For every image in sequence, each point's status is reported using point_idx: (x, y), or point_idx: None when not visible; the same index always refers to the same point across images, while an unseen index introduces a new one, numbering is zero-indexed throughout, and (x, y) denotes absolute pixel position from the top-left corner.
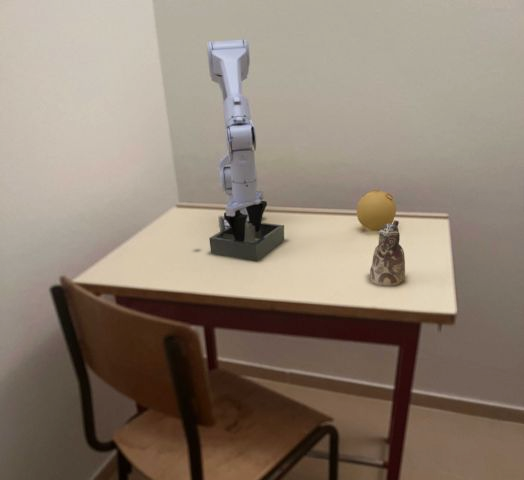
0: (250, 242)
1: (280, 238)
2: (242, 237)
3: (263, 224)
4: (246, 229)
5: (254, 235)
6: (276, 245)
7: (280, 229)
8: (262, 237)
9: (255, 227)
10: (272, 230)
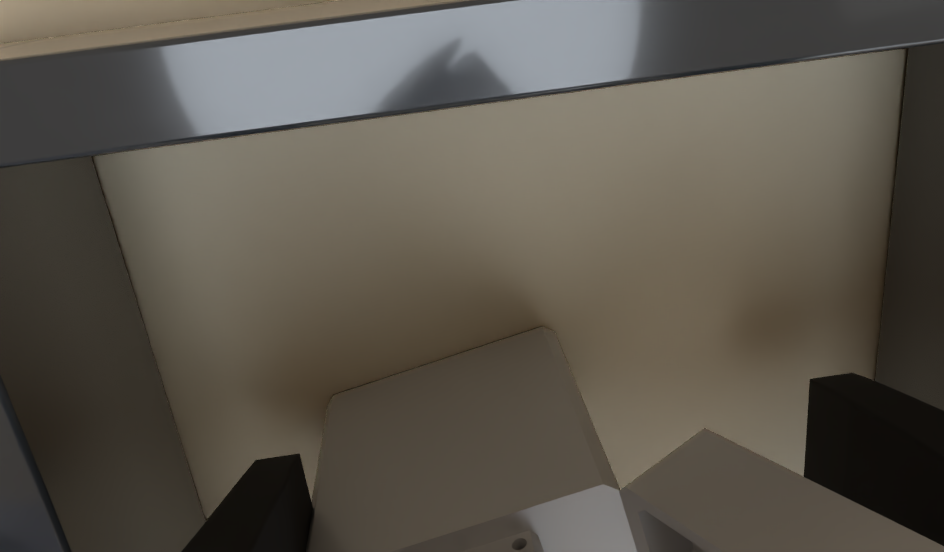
0: (564, 368)
1: (107, 33)
2: (925, 411)
3: (64, 531)
4: (840, 496)
5: (370, 453)
6: (299, 5)
7: (6, 56)
8: (161, 408)
9: (303, 550)
10: (39, 297)
